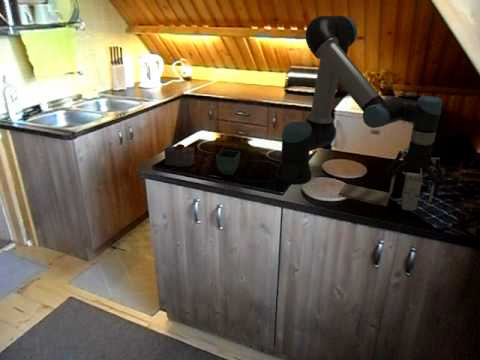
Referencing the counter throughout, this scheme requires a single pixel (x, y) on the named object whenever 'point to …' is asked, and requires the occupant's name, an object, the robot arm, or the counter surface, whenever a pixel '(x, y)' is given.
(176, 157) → the food item
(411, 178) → the ink cartridge box
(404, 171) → the dixie cup
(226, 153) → the flower pot
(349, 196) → the birch board
